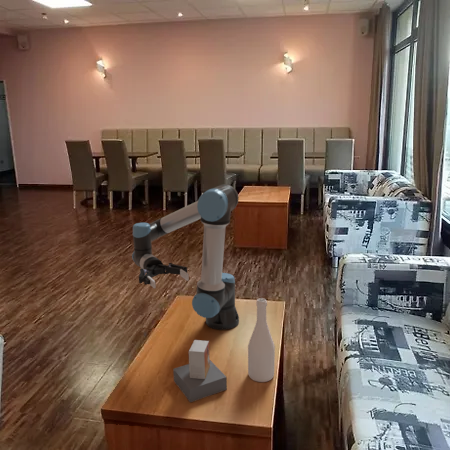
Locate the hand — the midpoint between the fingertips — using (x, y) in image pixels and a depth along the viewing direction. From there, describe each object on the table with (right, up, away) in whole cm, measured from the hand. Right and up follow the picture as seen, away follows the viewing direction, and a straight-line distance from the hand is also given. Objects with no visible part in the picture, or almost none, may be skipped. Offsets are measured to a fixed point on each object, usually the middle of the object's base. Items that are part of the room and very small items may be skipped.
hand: (171, 281), depth 170 cm
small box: (+11, -31, -12) cm, 35 cm away
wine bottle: (+33, -34, -6) cm, 48 cm away
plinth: (+11, -36, -11) cm, 39 cm away
